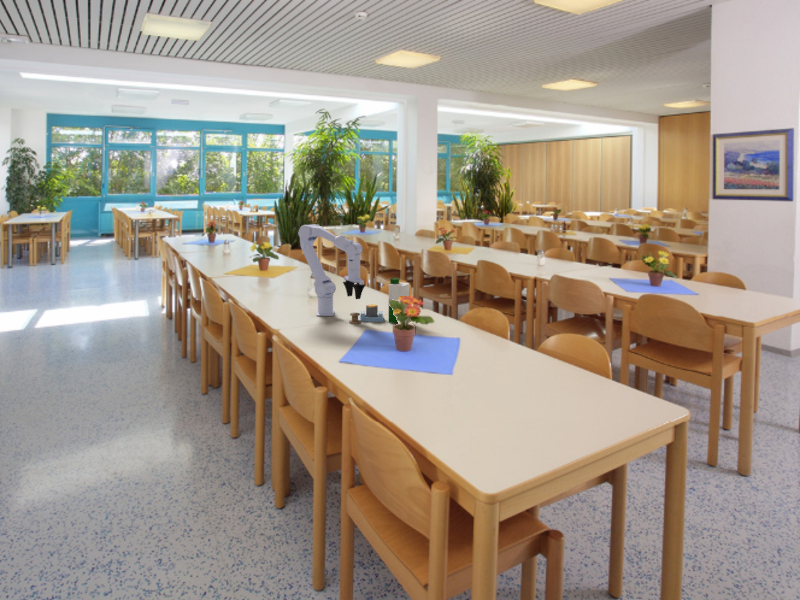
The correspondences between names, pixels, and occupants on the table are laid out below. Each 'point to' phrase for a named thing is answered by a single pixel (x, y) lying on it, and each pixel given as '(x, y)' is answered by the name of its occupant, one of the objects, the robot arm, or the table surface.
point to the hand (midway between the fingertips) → (353, 297)
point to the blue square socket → (371, 319)
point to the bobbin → (354, 318)
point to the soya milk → (396, 294)
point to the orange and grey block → (372, 310)
